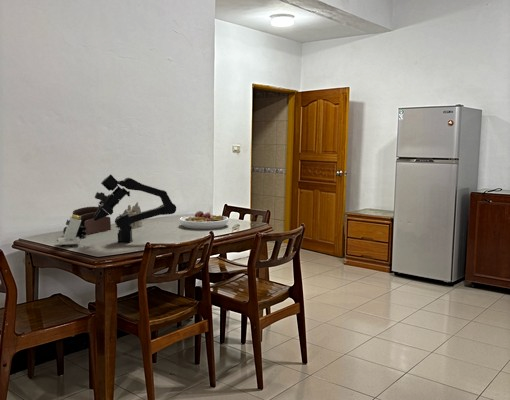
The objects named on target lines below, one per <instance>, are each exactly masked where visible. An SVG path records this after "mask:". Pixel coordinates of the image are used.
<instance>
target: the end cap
mask: <svg viewBox="0 0 510 400" xmlns="http://www.w3.org/2000/svg"><path fill="white" fill-rule="evenodd" d="M66 228H67V226H65V227H64V228H63V231H62V232H63V235H64V234H65V231H66ZM83 229H84V230H86V227H84V226H83V225H80V226H79V229H78V231H77V234H76V237H79V239H80V238H81V239H85V238H87V235H86V232H84V231H83ZM81 239H80V240H81Z"/></svg>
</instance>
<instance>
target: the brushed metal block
mask: <svg viewBox="0 0 510 400" xmlns="http://www.w3.org/2000/svg"><path fill="white" fill-rule="evenodd" d="M80 223H81V216H77V215H74V214H73V213H72V215H71V216H70V218H69V219H66V223H65V225H66V227H67V228H66V231H65V234H64V233H63V235H64V237H63V238H69V239H73V240H75V237H76V234H77V231H78V229H79V226H80Z"/></svg>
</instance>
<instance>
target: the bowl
mask: <svg viewBox="0 0 510 400" xmlns="http://www.w3.org/2000/svg"><path fill="white" fill-rule="evenodd" d="M179 222H180V224H181V226H182V227H184V228H187V229H190V230H191V229H192V230H215V229H221V228H224V227H226V225H228V222H229V217H228V216H224V215H220V214H219V215H216V214H211V213H210V212H206V213H204V211H201V210H199V211H196V212H195V214H193V215H192V214H191V215H185V216H182V217H180V218H179Z"/></svg>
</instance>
